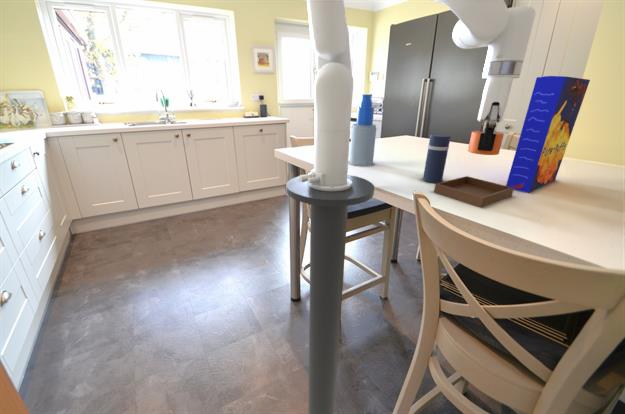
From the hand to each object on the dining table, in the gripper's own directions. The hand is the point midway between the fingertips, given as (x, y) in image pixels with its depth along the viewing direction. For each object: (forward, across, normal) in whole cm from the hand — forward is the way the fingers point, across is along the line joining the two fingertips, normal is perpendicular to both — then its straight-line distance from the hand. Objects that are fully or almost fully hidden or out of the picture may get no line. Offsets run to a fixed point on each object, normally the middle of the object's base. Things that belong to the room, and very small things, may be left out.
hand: (484, 147), depth 73 cm
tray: (+13, 0, 0) cm, 13 cm away
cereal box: (+13, -20, +16) cm, 29 cm away
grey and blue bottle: (+13, -20, -38) cm, 45 cm away
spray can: (+13, -9, -11) cm, 19 cm away
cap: (+1, 0, 0) cm, 1 cm away
